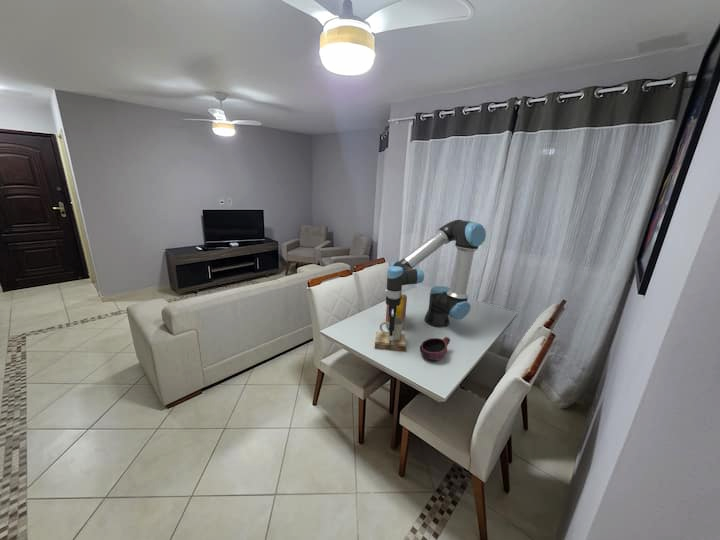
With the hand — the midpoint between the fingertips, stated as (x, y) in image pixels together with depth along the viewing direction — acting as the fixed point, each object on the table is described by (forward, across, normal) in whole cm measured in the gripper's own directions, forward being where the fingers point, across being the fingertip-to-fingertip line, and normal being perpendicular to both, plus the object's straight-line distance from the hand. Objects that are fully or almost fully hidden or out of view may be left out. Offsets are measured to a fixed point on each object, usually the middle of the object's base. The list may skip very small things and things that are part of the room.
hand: (390, 336), depth 144 cm
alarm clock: (+5, -24, +3) cm, 25 cm away
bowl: (+5, +6, +22) cm, 23 cm away
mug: (0, 0, 0) cm, 1 cm away
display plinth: (+5, 0, 0) cm, 5 cm away
